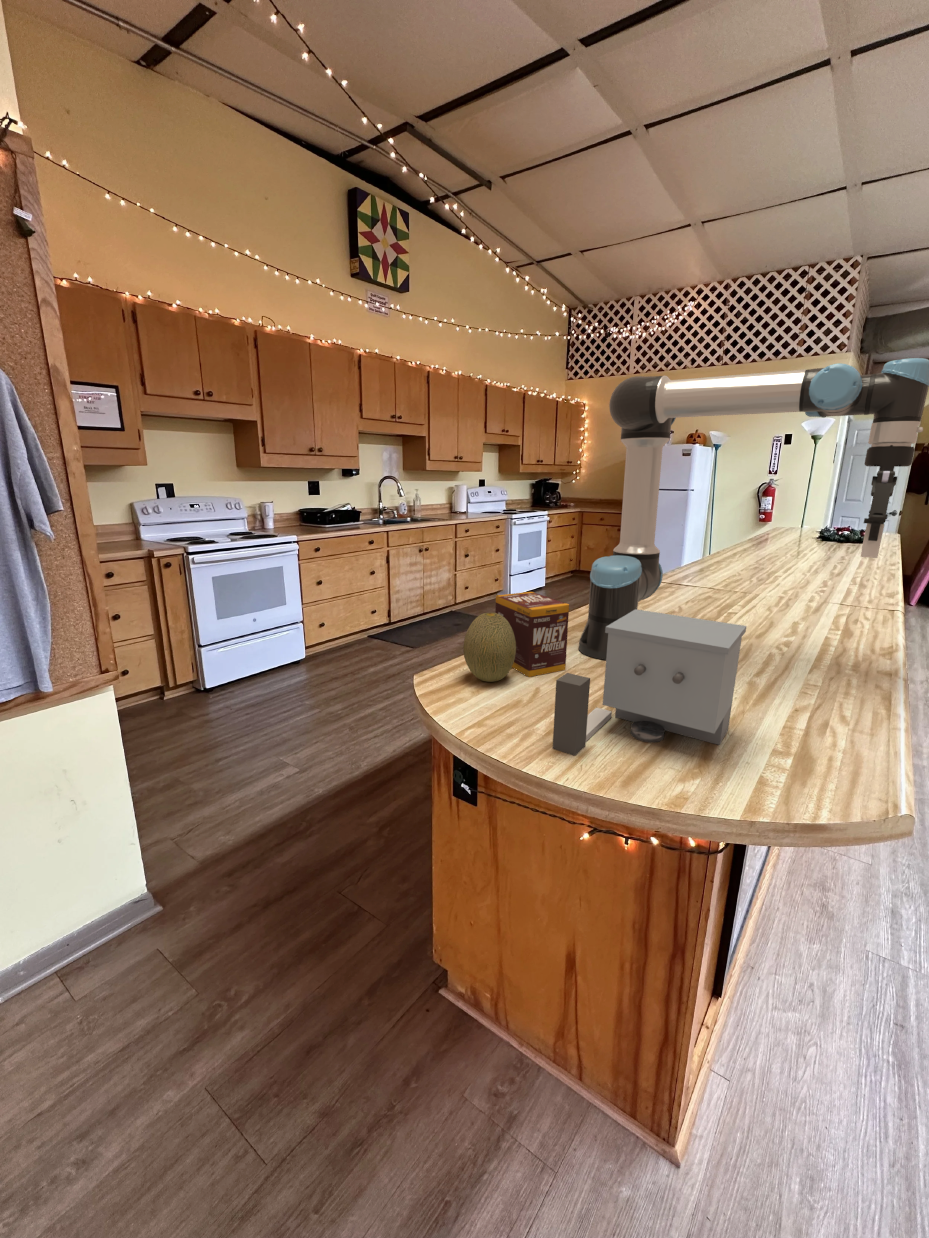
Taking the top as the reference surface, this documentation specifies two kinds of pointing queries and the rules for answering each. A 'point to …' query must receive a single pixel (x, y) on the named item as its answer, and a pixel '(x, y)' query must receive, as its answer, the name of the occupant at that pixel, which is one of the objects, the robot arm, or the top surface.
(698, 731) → the cabinet
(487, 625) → the fruit
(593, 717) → the scraper
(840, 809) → the top surface
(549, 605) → the supplement box
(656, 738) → the steel puck
